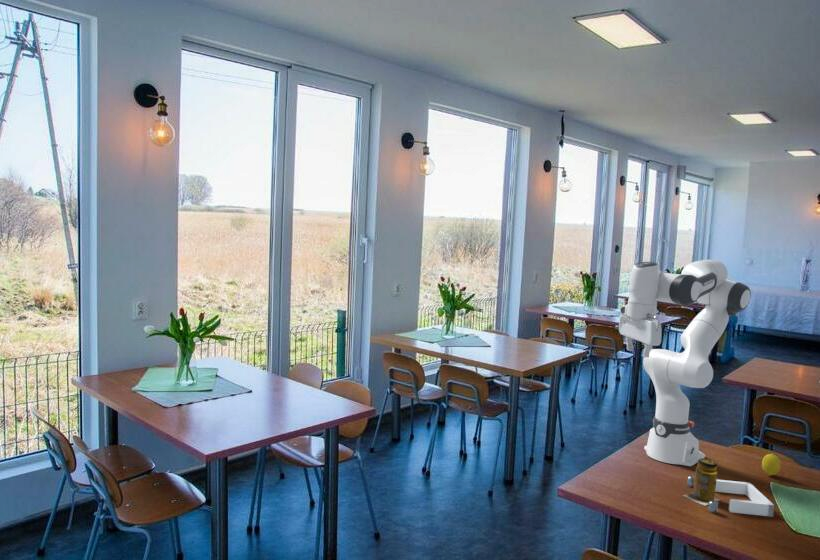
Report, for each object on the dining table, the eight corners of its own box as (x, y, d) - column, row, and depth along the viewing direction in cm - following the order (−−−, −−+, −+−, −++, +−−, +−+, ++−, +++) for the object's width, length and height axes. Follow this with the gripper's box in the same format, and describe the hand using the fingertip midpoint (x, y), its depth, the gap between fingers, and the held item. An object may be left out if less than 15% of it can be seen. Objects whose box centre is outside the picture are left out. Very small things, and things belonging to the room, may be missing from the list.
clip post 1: (689, 483, 199) (690, 475, 199) (696, 486, 197) (697, 477, 197) (685, 485, 197) (686, 476, 197) (692, 488, 195) (693, 479, 195)
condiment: (720, 500, 188) (724, 463, 186) (704, 506, 183) (709, 468, 182) (697, 491, 194) (702, 455, 192) (682, 496, 189) (686, 459, 188)
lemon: (774, 473, 213) (776, 451, 212) (782, 479, 207) (784, 457, 207) (757, 471, 213) (760, 449, 213) (765, 478, 208) (767, 455, 207)
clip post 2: (710, 509, 181) (712, 499, 181) (718, 512, 179) (719, 502, 179) (706, 510, 180) (707, 501, 179) (714, 514, 178) (715, 504, 177)
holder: (730, 512, 180) (731, 501, 179) (709, 489, 196) (711, 478, 195) (773, 516, 179) (774, 505, 178) (748, 493, 194) (749, 482, 194)
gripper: (668, 317, 186) (664, 361, 188) (634, 307, 206) (630, 347, 208) (650, 316, 185) (645, 360, 187) (617, 306, 205) (613, 346, 207)
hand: (637, 353), depth 197 cm, fingers open, 8 cm apart
